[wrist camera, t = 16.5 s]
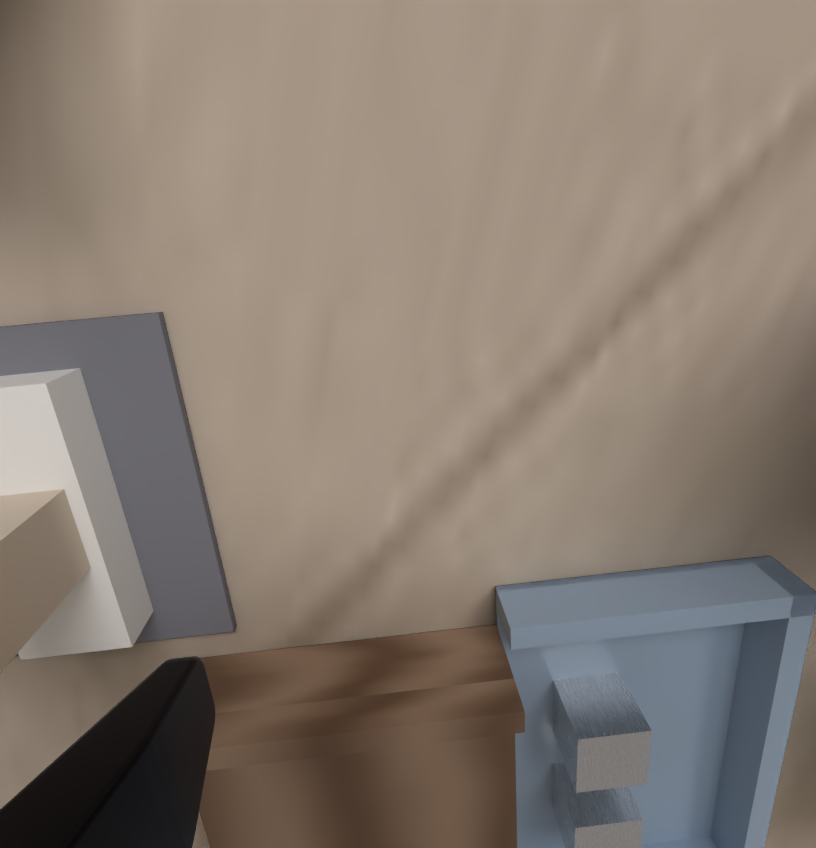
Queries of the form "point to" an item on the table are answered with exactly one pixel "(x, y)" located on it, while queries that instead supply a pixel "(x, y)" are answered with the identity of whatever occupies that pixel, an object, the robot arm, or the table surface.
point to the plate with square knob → (61, 527)
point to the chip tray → (667, 688)
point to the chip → (600, 732)
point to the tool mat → (141, 458)
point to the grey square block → (594, 814)
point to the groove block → (365, 744)
